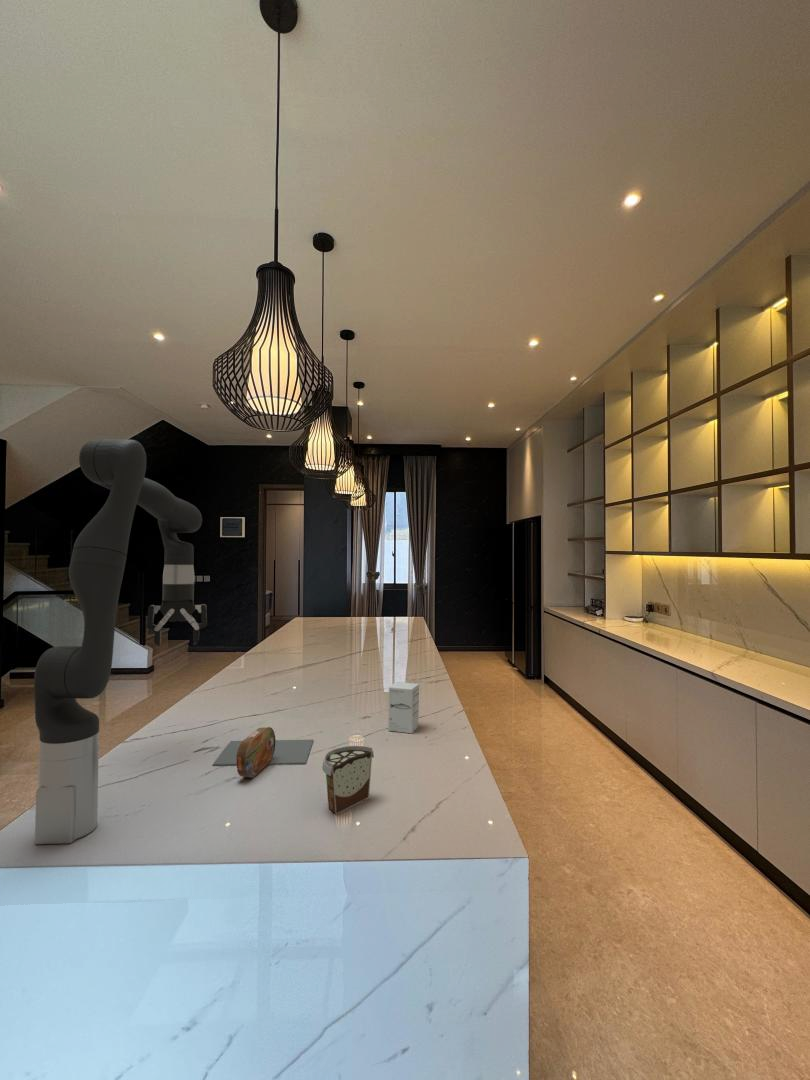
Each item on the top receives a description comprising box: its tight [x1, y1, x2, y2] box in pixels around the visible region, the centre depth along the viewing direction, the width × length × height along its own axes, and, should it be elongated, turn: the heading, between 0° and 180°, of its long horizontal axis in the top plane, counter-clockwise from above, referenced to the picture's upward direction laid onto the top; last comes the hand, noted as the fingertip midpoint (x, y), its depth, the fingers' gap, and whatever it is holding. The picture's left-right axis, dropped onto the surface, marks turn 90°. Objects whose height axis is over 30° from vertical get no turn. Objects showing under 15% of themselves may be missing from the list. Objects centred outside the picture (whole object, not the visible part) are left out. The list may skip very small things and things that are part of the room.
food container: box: [321, 745, 375, 816], centre depth 108 cm, size 12×6×10 cm, turn 141°
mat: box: [211, 739, 314, 767], centre depth 135 cm, size 16×22×1 cm
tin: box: [236, 726, 276, 779], centre depth 124 cm, size 15×3×8 cm, turn 168°
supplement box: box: [387, 681, 420, 734], centre depth 154 cm, size 7×7×13 cm
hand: (177, 645), depth 137 cm, fingers open, 8 cm apart
